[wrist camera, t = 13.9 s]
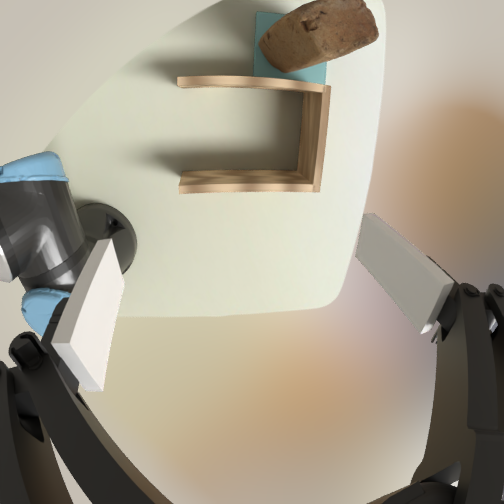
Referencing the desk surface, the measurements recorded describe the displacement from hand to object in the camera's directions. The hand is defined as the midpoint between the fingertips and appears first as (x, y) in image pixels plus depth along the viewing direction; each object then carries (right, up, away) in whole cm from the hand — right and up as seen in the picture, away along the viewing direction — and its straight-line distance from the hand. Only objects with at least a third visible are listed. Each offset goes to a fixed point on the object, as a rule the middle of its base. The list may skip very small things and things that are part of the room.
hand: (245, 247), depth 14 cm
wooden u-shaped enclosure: (-1, +20, +28) cm, 34 cm away
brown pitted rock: (+6, +32, +21) cm, 39 cm away
